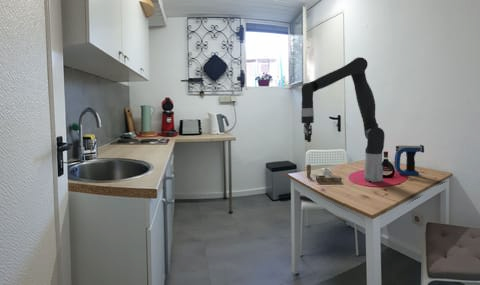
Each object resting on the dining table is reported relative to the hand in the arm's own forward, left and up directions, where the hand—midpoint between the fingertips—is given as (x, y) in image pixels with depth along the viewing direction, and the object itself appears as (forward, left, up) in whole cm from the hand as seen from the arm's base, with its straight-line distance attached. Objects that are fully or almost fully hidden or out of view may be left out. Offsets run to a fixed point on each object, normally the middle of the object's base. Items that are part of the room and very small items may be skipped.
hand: (307, 141), depth 169 cm
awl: (-1, 0, -25) cm, 25 cm away
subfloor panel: (-11, +2, -25) cm, 27 cm away
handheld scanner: (-67, -9, -25) cm, 72 cm away
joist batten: (-11, +10, -25) cm, 29 cm away
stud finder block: (-13, -4, -24) cm, 27 cm away
